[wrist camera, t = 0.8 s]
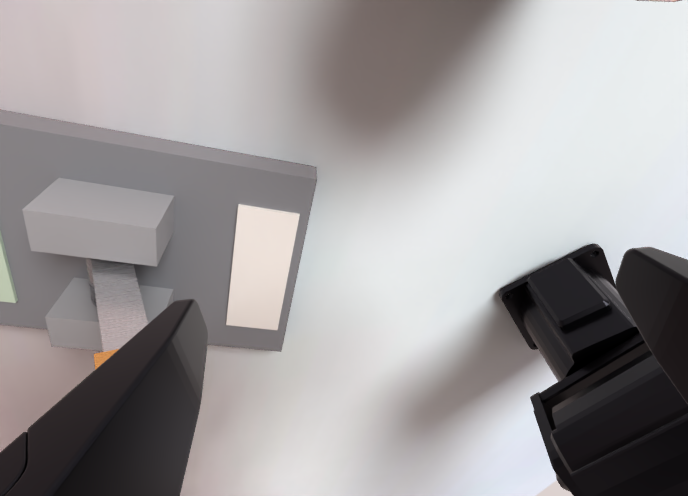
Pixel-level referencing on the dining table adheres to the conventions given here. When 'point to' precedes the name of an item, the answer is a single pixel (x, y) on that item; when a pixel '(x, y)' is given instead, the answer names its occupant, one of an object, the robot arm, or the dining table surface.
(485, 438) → the dining table surface
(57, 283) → the switch panel
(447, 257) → the dining table surface
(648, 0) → the coffee mug
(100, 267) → the lever
